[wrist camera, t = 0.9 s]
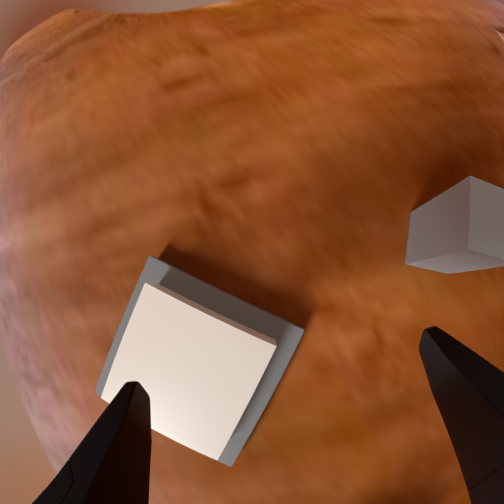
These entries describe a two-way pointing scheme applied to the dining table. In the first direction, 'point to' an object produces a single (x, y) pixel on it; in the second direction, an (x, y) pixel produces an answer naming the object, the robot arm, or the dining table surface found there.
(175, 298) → the off-white top slab
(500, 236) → the slate block
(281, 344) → the square tray
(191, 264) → the dining table surface
